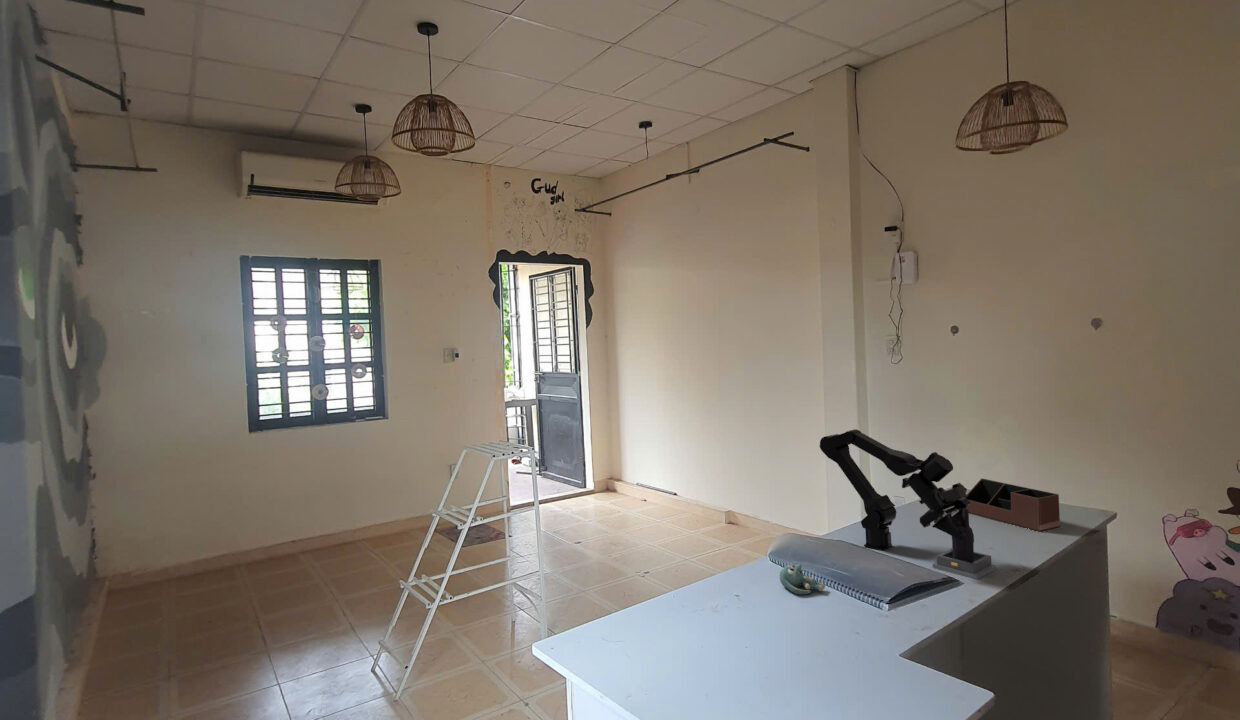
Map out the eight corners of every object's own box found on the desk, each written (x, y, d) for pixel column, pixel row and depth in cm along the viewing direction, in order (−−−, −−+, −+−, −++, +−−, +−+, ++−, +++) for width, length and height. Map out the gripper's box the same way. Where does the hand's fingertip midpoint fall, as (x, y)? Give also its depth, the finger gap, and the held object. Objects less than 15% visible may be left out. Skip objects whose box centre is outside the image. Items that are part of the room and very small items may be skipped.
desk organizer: (1040, 533, 203) (1039, 498, 202) (961, 512, 230) (960, 481, 230) (1062, 528, 206) (1061, 494, 206) (982, 508, 234) (981, 477, 233)
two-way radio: (975, 563, 176) (974, 509, 177) (972, 567, 173) (971, 512, 173) (953, 559, 180) (952, 506, 180) (949, 563, 177) (949, 509, 177)
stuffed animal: (821, 580, 161) (775, 564, 167) (816, 606, 162) (772, 590, 168) (831, 566, 170) (788, 552, 176) (827, 591, 171) (784, 576, 177)
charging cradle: (932, 567, 178) (932, 555, 178) (952, 558, 185) (952, 546, 185) (976, 579, 169) (976, 566, 169) (996, 568, 175) (995, 556, 175)
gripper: (929, 480, 174) (971, 529, 165) (963, 469, 185) (1004, 514, 176) (902, 503, 181) (942, 551, 172) (937, 491, 191) (975, 536, 183)
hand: (967, 537), depth 176 cm, fingers closed on two-way radio, 5 cm apart
